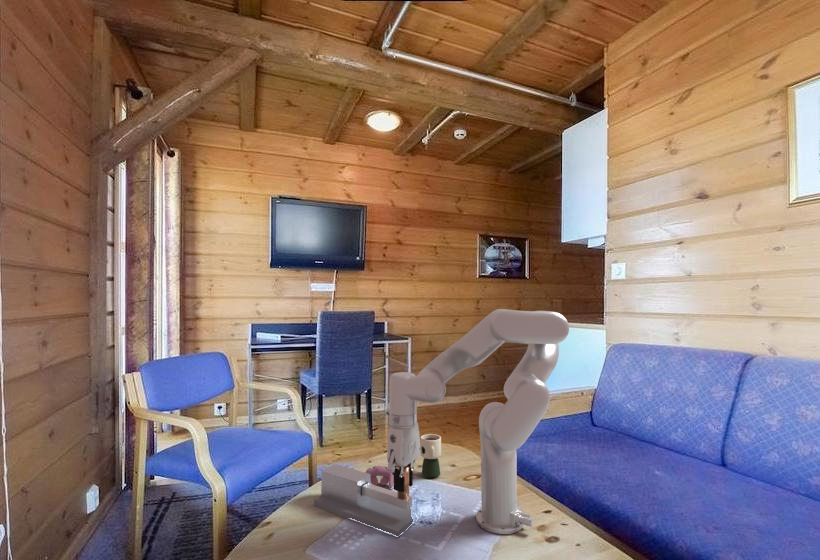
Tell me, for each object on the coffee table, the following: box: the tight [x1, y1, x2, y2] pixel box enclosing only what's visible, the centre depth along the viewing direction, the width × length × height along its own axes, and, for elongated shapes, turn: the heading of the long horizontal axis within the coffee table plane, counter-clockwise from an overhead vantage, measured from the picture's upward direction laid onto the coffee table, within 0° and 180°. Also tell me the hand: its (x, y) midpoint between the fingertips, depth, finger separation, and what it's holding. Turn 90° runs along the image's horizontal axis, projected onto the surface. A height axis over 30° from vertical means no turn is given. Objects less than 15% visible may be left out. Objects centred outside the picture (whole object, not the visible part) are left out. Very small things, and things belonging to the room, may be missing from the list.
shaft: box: [361, 465, 413, 510], centre depth 114 cm, size 20×3×10 cm, turn 57°
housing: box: [320, 463, 371, 509], centre depth 120 cm, size 14×6×7 cm, turn 57°
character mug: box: [420, 433, 442, 479], centre depth 139 cm, size 11×7×13 cm, turn 4°
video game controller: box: [364, 465, 394, 489], centre depth 132 cm, size 10×5×7 cm, turn 85°
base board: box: [313, 496, 413, 536], centre depth 116 cm, size 30×12×2 cm, turn 57°
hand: (403, 487), depth 109 cm, fingers closed on shaft, 3 cm apart
